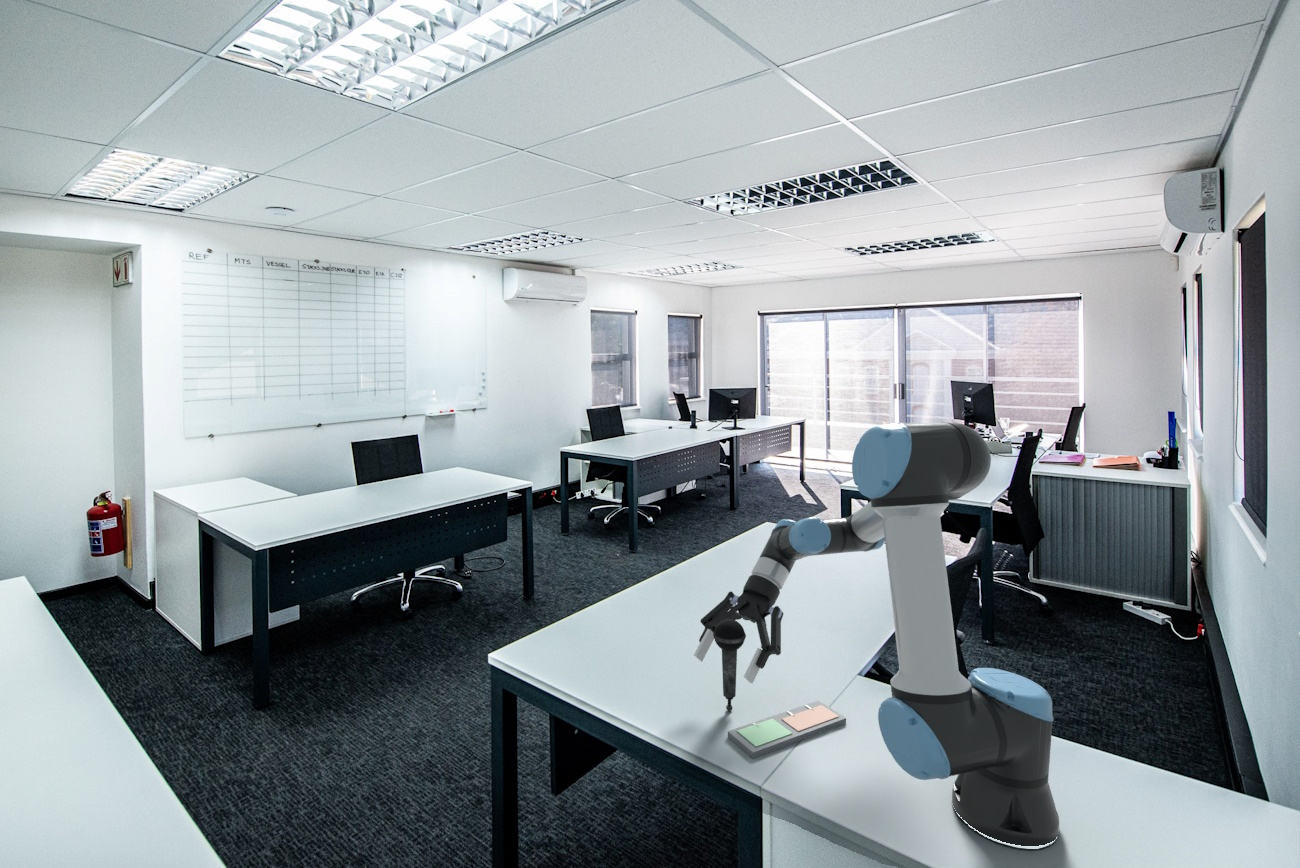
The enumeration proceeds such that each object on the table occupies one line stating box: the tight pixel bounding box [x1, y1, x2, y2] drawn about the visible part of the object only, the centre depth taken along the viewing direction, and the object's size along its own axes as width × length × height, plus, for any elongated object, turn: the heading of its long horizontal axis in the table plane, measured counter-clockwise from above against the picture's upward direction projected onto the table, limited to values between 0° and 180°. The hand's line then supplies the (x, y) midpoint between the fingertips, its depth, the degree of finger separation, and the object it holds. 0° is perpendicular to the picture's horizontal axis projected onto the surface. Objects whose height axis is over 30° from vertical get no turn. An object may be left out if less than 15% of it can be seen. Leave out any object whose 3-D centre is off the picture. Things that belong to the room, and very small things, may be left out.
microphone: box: [713, 619, 747, 712], centre depth 133 cm, size 7×7×20 cm
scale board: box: [727, 699, 847, 759], centre depth 127 cm, size 8×24×1 cm, turn 119°
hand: (721, 669), depth 132 cm, fingers open, 13 cm apart
